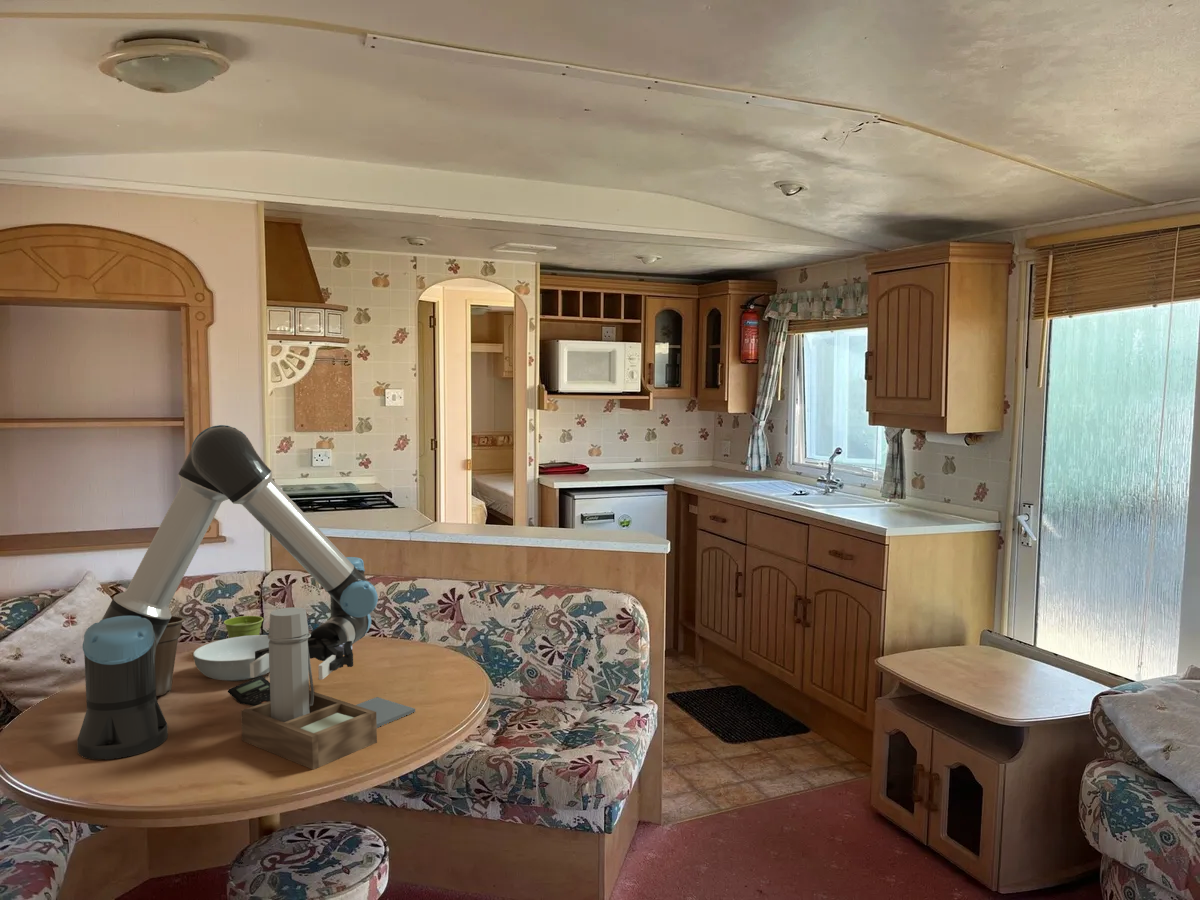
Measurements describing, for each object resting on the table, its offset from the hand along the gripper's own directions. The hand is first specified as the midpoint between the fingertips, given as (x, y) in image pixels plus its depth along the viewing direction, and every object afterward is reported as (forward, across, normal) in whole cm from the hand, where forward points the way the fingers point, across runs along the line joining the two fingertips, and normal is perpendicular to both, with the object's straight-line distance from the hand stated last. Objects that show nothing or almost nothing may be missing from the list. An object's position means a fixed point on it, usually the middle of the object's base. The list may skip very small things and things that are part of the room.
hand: (285, 671), depth 163 cm
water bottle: (-3, 0, -14) cm, 15 cm away
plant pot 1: (-21, +44, -13) cm, 50 cm away
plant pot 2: (-53, +37, -14) cm, 66 cm away
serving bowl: (-37, +29, -14) cm, 49 cm away
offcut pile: (+2, -9, -14) cm, 17 cm away
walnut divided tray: (-1, -4, -14) cm, 14 cm away
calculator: (-23, +16, -14) cm, 32 cm away
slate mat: (-15, -12, -14) cm, 23 cm away
